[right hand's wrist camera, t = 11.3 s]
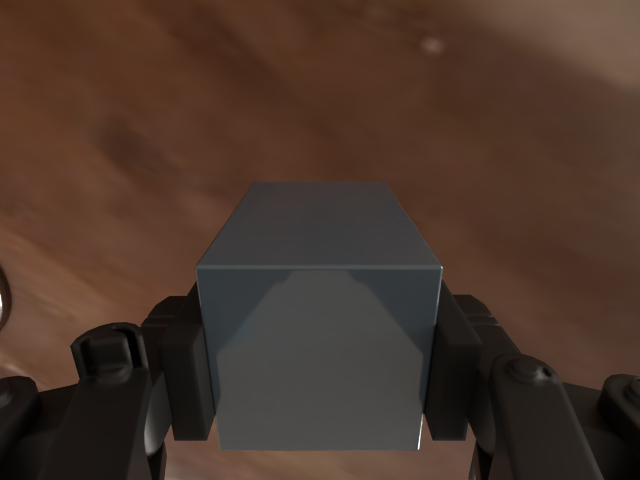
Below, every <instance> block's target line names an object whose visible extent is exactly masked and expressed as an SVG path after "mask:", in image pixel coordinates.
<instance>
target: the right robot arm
mask: <svg viewBox="0 0 640 480" xmlns="http://www.w3.org/2000/svg"><path fill="white" fill-rule="evenodd" d="M10 310H11V294H10V289H9V285H8V283H7V280H6V277H5V275H4V273H3V271H2V270H1V268H0V330H1V329H2V328H3V327H4V325H5V324H6V322H7V320H8V317H9V315H10ZM70 347H71V351H72V354H73V358H74V361H75V364H76V368H77V371H78V375H79V378H80V380H79V382H78V383H77V384H74V385H70V386H66V387H61V388H57V389H52V390H47V391H43V392H38V389H37V386H36V383H35V381H33V380H32V379H31V378H29V377H24V376H13V377H6V378H2V379H0V480H164V476H165V467H166V458H167V455H166V448H165V443H164V439H165V436H166V434H167V432H168V429H169V427H170V425H171V424H172V429H173V435H174V440H175V441H207V439H208V435H209V432H210V429H211V426H212V423H213V420H214V417H215V412H214V405H213V398H212V390H211V383H210V375H209V368H208V360H207V353H206V345H205V338H204V331H203V323H202V317H201V309H200V302H199V294H198V287H197V281H196V282H195V284H194V286H193V287H192V289H191V290H190V292H189V293H188V295H187V296H169V297H167V298H166V299H164V300H163V301H161V302H160V303H158V304H157V305H156V306H155V307H154V308H153V310H152V311H151V312H150V314H149V315H148V318H146V319H145V320H144V322H143V323H142V324H141V327H138V326H137V325H136V324H132V323H127V322H120V323H110V324H106V325H102V326H99V327H96V328H94V329H91V330H89V331H87V332H85V333H84V334H82V335H81V336H79V337H78V338H77V339H76V340H75V341H74V342H73V343H72V345H71V346H70ZM424 414H425V417H426V420H427V424H428V427H429V430H430V433H431V436H432V439H433V441H465V439H466V433H467V428H468V423H469V424H470V426H471V428H472V430H473V433H474V435H475V437H476V443H475V448H474V453H473V457H472V462H471V467H470V472H469V480H474V477H475V475H476V480H640V377H638V376H633V375H625V374H618V375H611V376H610V377H609V378H607V379H606V380H605V382H604V385H603V388H602V391H600V390H596V389H591V388H586V387H582V386H577V385H572V384H568V383H565V382H562V381H561V379H560V378H559V376H558V375H557V373H556V372H555V371H554V370H553V369H552V368H551V367H549V366H548V365H547V364H546V363H544V362H542V361H540V360H538V359H536V358H534V357H531V356H528V355H524V354H522V353H521V352H520V351H519V349H518V348H517V347H516V345H515V344H514V343H513V342H512V340H511V339H510V338H509V336H508V335H507V334H506V332H505V331H504V330H503V328H502V327H501V326H499V323H498V322H497V320H496V319H495V318H494V317H492V314H491V312H490V311H489V310H488V308H487V307H486V306H485V304H483V303H482V302H480V301H479V300H477V299H476V298H474V297H473V296H471V295H452V294H451V292H450V291H449V289H448V288H447V286H446V284H445V283H444V281H443V280H442V281H441V288H440V296H439V303H438V311H437V318H436V326H435V334H434V341H433V349H432V356H431V364H430V371H429V379H428V387H427V394H426V402H425V409H424Z"/></svg>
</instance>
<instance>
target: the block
mask: <svg viewBox="0 0 640 480" xmlns="http://www.w3.org/2000/svg"><path fill="white" fill-rule="evenodd" d="M195 272H196V280H197V287H198V294H199V302H200V309H201V317H202V323H203V331H204V338H205V345H206V353H207V360H208V368H209V375H210V383H211V390H212V398H213V405H214V412H215V421H216V428H217V436H218V443H219V449H220V450H222V451H417V450H419V447H420V439H421V432H422V424H423V417H424V409H425V402H426V394H427V387H428V379H429V371H430V364H431V356H432V349H433V341H434V334H435V326H436V318H437V311H438V303H439V296H440V288H441V281H442V273H443V266H442V264H441V263H440V261H439V260H438V259H437V257H436V256H435V254H434V253H433V251H432V250H431V248H430V247H429V245H428V244H427V242H426V241H425V239H424V238H423V237H422V235H421V234H420V232H419V231H418V229H417V228H416V226H415V225H414V223H413V222H412V220H411V219H410V217H409V216H408V215H407V213H406V212H405V210H404V209H403V207H402V206H401V204H400V203H399V201H398V200H397V198H396V197H395V195H394V194H393V193H392V191H391V190H390V188H389V187H388V185H387V184H386V182H253V184H252V185H251V187H250V188H249V189H248V191H247V192H246V194H245V195H244V197H243V198H242V200H241V201H240V202H239V204H238V205H237V207H236V208H235V210H234V211H233V213H232V214H231V215H230V217H229V218H228V220H227V221H226V223H225V224H224V226H223V227H222V228H221V230H220V231H219V233H218V234H217V236H216V237H215V239H214V240H213V241H212V243H211V244H210V246H209V247H208V249H207V250H206V252H205V253H204V254H203V256H202V257H201V259H200V260H199V262H198V263H197V265H196V267H195Z"/></svg>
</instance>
